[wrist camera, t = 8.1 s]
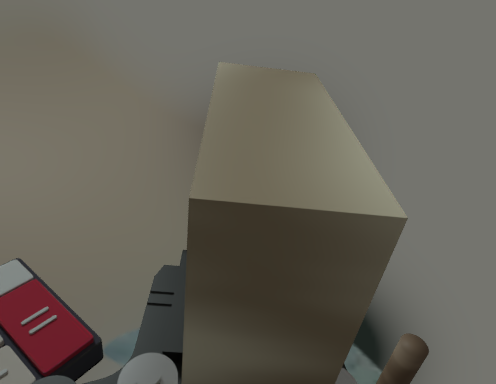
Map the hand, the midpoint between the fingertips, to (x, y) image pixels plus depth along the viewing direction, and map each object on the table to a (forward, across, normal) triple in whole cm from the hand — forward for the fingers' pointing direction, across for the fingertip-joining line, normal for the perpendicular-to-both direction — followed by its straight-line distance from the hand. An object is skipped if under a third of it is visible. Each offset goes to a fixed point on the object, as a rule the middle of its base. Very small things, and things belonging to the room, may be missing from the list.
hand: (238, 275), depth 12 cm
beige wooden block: (-2, 0, +10) cm, 10 cm away
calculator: (+13, +20, +26) cm, 35 cm away
